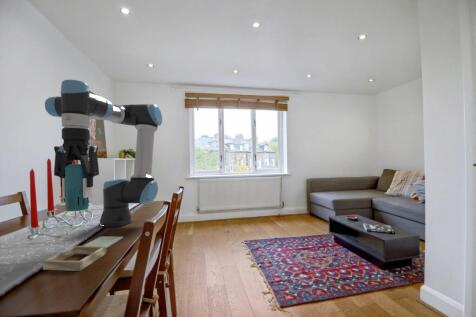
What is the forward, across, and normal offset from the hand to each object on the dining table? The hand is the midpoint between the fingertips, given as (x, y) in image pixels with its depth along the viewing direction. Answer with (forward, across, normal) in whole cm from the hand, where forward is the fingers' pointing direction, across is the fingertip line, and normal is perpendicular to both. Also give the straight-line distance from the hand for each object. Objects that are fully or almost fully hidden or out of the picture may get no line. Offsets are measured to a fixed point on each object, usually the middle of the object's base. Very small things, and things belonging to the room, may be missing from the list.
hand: (77, 197), depth 73 cm
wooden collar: (+21, 0, 0) cm, 21 cm away
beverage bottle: (+6, 0, 0) cm, 6 cm away
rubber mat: (+21, -2, +16) cm, 27 cm away
